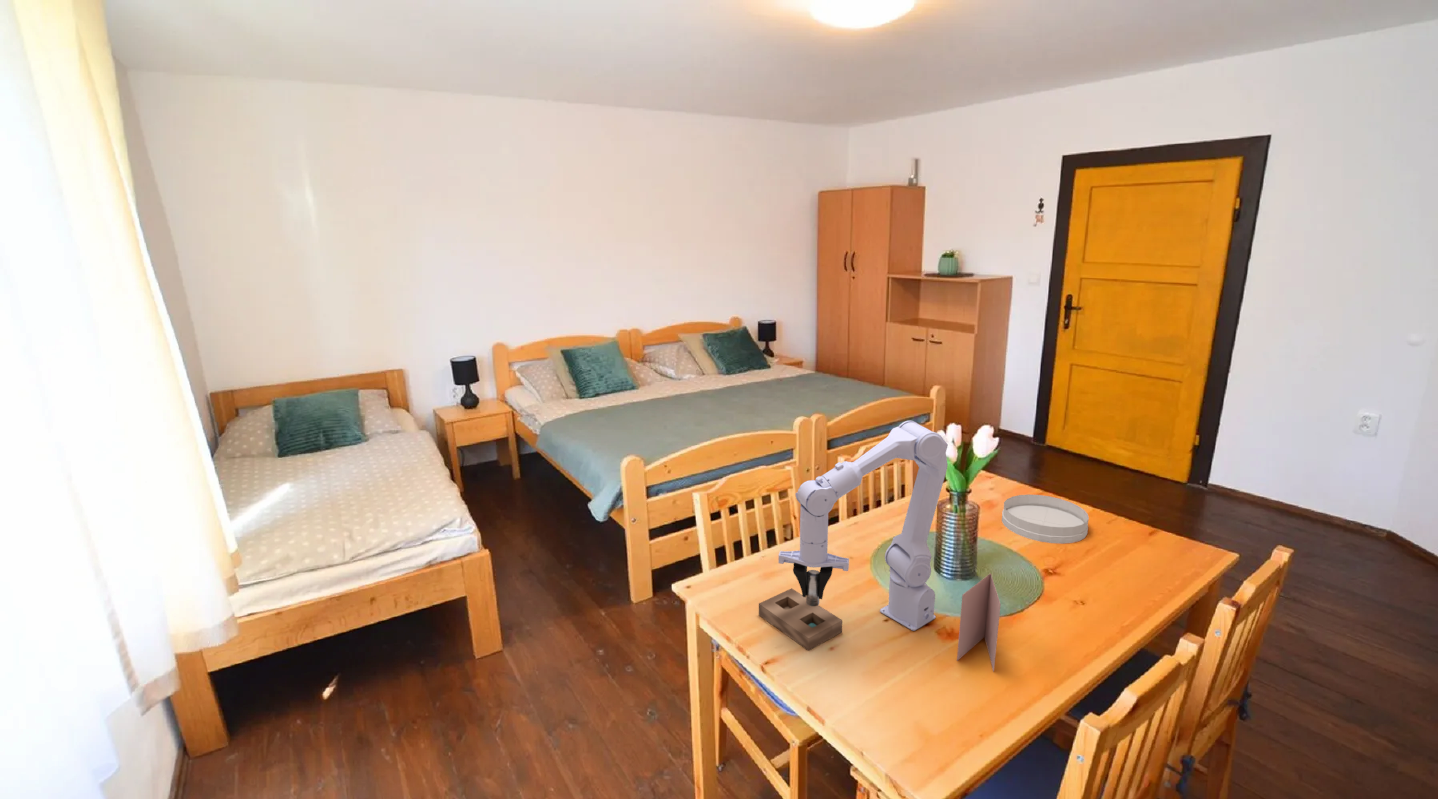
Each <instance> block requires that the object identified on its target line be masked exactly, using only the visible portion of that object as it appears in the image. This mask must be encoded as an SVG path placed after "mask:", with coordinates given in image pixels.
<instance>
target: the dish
mask: <svg viewBox="0 0 1438 799" xmlns="http://www.w3.org/2000/svg"><path fill="white" fill-rule="evenodd" d="M1001 512H1002V513H1001V514H1002V515H1001V522H1002V524H1003V526H1004V527H1005V528H1006V529H1008V530H1009V531H1011V532H1013V533H1014V534H1016V535H1018V536H1021V537H1024V538H1027V539H1029V540H1033V541H1037V542H1042V543H1049V544H1073V543H1077V542H1080V541H1082V540H1084V539H1086V536H1087V535H1088V530H1089V525H1088V524H1089V520H1090V519H1089V514H1088V513H1087V512H1086V510H1085V509H1084V508H1082V507H1080V506H1079V505H1077V504H1075V503H1073V502H1071V501H1068V500H1066V499H1062V498H1060V497H1059V498H1058V497H1054V496H1049V495H1043V494H1018V495H1015V496H1014V495H1013V496H1011V497H1008V498H1007V499H1006V500H1005V501H1004V502H1003V509H1002V511H1001Z"/></svg>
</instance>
